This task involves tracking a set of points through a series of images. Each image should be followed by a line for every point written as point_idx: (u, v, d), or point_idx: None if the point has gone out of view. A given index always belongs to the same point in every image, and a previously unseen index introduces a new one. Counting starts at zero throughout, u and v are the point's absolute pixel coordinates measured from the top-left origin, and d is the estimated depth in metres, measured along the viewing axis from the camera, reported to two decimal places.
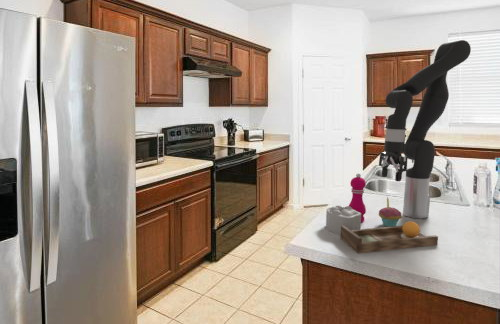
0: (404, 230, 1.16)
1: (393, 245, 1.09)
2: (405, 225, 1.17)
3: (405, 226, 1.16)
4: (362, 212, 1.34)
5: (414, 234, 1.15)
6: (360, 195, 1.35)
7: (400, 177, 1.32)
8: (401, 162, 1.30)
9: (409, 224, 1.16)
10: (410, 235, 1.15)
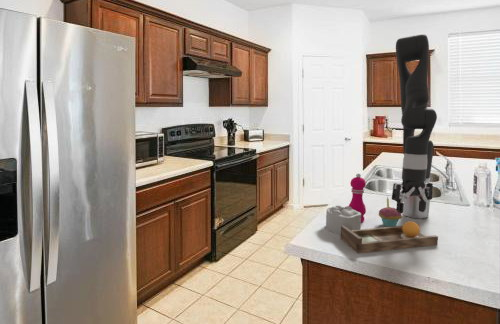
0: (404, 230, 1.16)
1: (393, 245, 1.09)
2: (405, 225, 1.17)
3: (405, 226, 1.16)
4: (362, 212, 1.34)
5: (414, 234, 1.15)
6: (360, 195, 1.35)
7: None
8: (431, 189, 1.15)
9: (409, 224, 1.16)
10: (410, 235, 1.15)
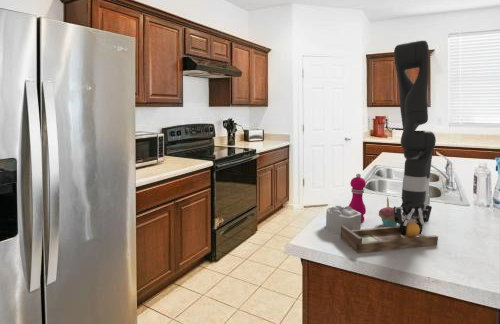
0: None
1: (393, 245, 1.09)
2: None
3: None
4: (362, 212, 1.34)
5: (414, 234, 1.15)
6: (360, 195, 1.35)
7: None
8: (429, 212, 1.16)
9: (409, 224, 1.16)
10: (410, 235, 1.15)
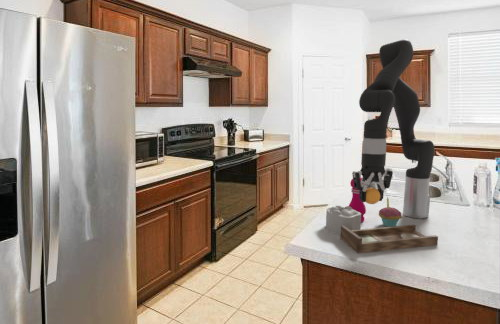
0: None
1: (393, 245, 1.09)
2: None
3: None
4: (362, 212, 1.34)
5: (373, 200, 1.09)
6: None
7: None
8: (390, 178, 1.11)
9: (369, 190, 1.10)
10: (370, 201, 1.10)
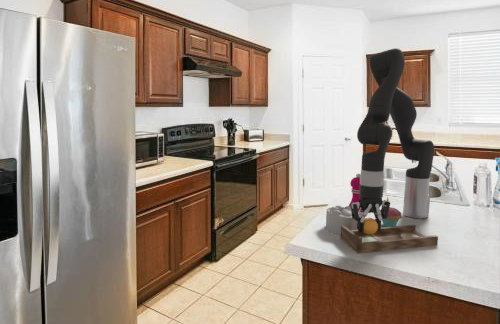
0: None
1: (393, 245, 1.09)
2: (363, 221, 1.13)
3: None
4: None
5: (371, 230, 1.11)
6: None
7: None
8: (387, 208, 1.13)
9: (367, 220, 1.12)
10: (367, 232, 1.11)
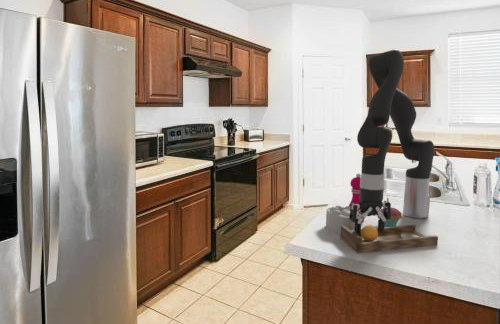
0: (362, 234, 1.13)
1: (393, 245, 1.09)
2: (363, 229, 1.13)
3: (363, 230, 1.13)
4: None
5: (371, 238, 1.11)
6: None
7: None
8: (389, 209, 1.13)
9: (367, 228, 1.12)
10: (368, 239, 1.12)
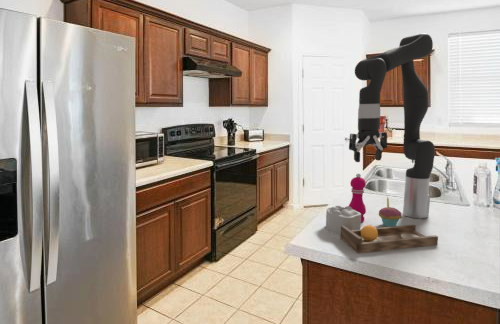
0: (362, 234, 1.13)
1: (393, 245, 1.09)
2: (363, 229, 1.13)
3: (363, 230, 1.13)
4: (362, 212, 1.34)
5: (371, 238, 1.11)
6: (360, 195, 1.35)
7: None
8: (385, 138, 1.21)
9: (367, 228, 1.12)
10: (368, 239, 1.12)
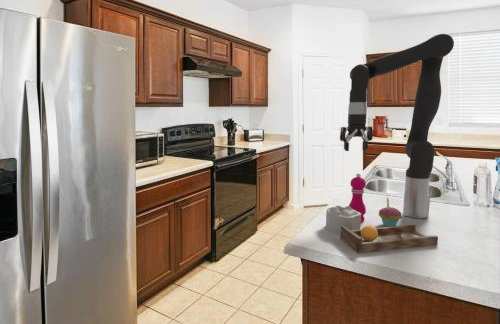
0: (362, 234, 1.13)
1: (393, 245, 1.09)
2: (363, 229, 1.13)
3: (363, 230, 1.13)
4: (362, 212, 1.34)
5: (371, 238, 1.11)
6: (360, 195, 1.35)
7: None
8: (371, 132, 1.43)
9: (366, 228, 1.12)
10: (368, 239, 1.12)
